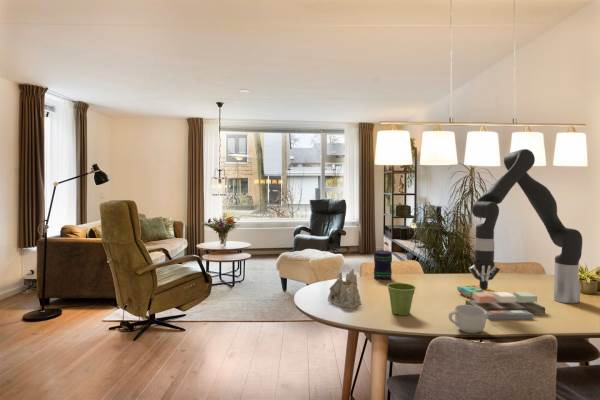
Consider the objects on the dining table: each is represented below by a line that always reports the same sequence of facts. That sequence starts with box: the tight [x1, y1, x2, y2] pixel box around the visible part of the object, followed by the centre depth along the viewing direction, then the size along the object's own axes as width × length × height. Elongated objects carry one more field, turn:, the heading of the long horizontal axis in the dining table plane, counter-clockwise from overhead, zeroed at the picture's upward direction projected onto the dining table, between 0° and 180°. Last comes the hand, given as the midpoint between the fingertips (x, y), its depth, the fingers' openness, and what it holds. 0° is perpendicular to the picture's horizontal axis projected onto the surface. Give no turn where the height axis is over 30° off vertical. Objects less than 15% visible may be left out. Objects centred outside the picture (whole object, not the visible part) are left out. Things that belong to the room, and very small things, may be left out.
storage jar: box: [373, 250, 393, 281], centre depth 234 cm, size 10×10×15 cm
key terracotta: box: [472, 292, 495, 302], centre depth 177 cm, size 6×6×2 cm
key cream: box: [493, 291, 517, 302], centre depth 177 cm, size 6×6×2 cm
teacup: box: [448, 304, 487, 334], centre depth 152 cm, size 14×11×8 cm
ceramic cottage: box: [327, 268, 362, 309], centre depth 188 cm, size 16×16×15 cm
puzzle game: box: [456, 284, 497, 300], centre depth 194 cm, size 12×5×20 cm
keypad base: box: [464, 299, 546, 315], centre depth 177 cm, size 28×12×2 cm, turn 92°
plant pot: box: [386, 282, 417, 316], centre depth 172 cm, size 12×12×11 cm
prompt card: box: [486, 310, 534, 321], centre depth 167 cm, size 18×5×2 cm, turn 92°
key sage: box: [512, 291, 538, 303], centre depth 177 cm, size 6×6×2 cm
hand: (483, 289), depth 177 cm, fingers closed
